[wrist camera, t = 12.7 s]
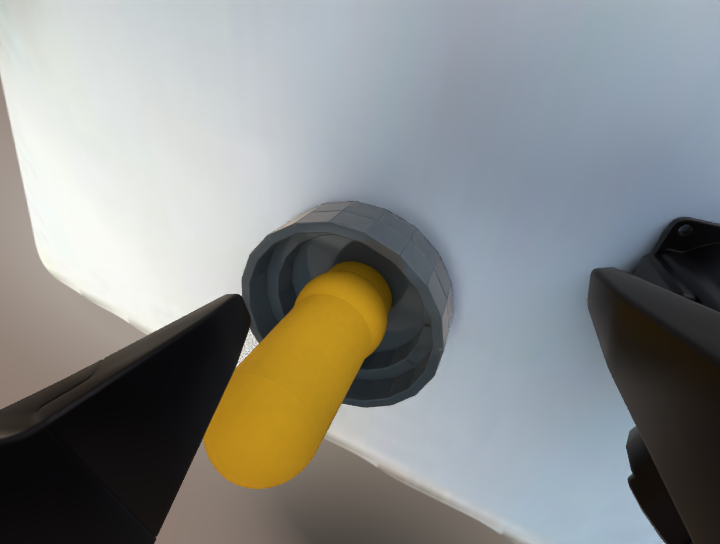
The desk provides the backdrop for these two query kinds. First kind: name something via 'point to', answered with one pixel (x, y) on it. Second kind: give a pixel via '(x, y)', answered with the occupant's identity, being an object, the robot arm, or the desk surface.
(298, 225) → the slate bowl
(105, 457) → the robot arm
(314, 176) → the desk surface
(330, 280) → the yellow blob
